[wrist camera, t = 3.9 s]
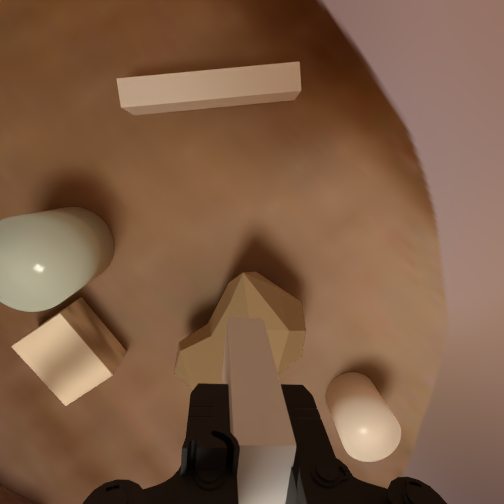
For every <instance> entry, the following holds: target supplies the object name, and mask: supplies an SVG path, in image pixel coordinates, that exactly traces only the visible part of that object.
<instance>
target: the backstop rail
mask: <svg viewBox="0 0 504 504" xmlns="http://www.w3.org/2000/svg"><path fill="white" fill-rule="evenodd" d="M116 79H117V85H118V92H119V98H120V104H121V108H122V109H124V110H126V111H127V112H129V113H131V114H132V115H144V114H154V113H165V112H175V111H186V110H196V109H207V108H217V107H228V106H238V105H249V104H260V103H270V102H281V101H291V100H295V99H296V97H297V96H298V95H299V93H300V92H301V76H300V61H299V62H288V63H278V64H267V65H256V66H245V67H235V68H224V69H213V70H202V71H192V72H181V73H170V74H159V75H149V76H138V77H127V78H116Z"/></svg>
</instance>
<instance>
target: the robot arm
mask: <svg viewBox="0 0 504 504" xmlns="http://www.w3.org/2000/svg"><path fill="white" fill-rule="evenodd" d="M222 383H223V384H207V383H198V384H197V386H196V387H195V388H194V390H193V391H192V392H191V395H190V404H189V414H188V423H187V432H186V439H185V441H184V444H183V447H182V459H181V466H180V468H179V470H178V471H177V472H176V473H175V474H174V476H173V477H171V478H170V479H168V480H167V481H165V482H163V483H161V484H159V485H156V486H153V487H150V488H147V489H142V488H141V487H140V486H139V484H137V483H135V482H132V481H130V480H114V481H111V482H107V483H105V484H103V485H101V486H100V487H98V488H97V489H95V490H94V491H93V492H92V493H91V494H90V495H89V496H88V497H87V499H86V500H85V501H84V502H83V504H447V503H446V502H445V501H444V500H443V499H442V497H441V496H440V495H439V494H438V493H436V492H435V491H434V490H433V489H432V488H431V487H430V486H428V485H427V484H425V483H423V482H421V481H420V480H417V479H413V478H410V477H398V478H396V479H394V480H393V481H391V483H390V485H389V487H388V489H386V488H383V487H379V486H376V485H372V484H369V483H366V482H363V481H361V480H358V479H357V478H355V477H353V476H352V474H351V472H350V471H349V469H348V467H347V466H346V465H345V464H343V463H342V462H341V461H340V460H339V459H337V458H336V457H335V454H334V452H333V449H332V446H331V444H330V441H329V438H328V436H327V433H326V430H325V428H324V425H323V422H322V420H321V419H320V414H319V412H318V409H317V407H316V404H315V401H314V399H313V396H312V394H311V393H310V392H309V391H308V390H307V389H306V388H305V387H304V386H303V385H286V384H280V380H279V377H278V373H277V369H276V365H275V361H274V357H273V354H272V350H271V346H270V342H269V338H268V334H267V331H266V327H265V323H264V319H261V318H240V317H227V326H226V338H225V349H224V361H223V372H222Z"/></svg>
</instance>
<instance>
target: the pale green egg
mask: <svg viewBox="0 0 504 504" xmlns="http://www.w3.org/2000/svg"><path fill="white" fill-rule="evenodd" d="M113 255H114V240H113V236H112V233H111V231H110V229H109V227H108V226H107V224H106V223H105V222H104V221H103V220H102V219H101V218H100V217H99V216H98V215H96V214H95V213H93V212H91V211H89V210H87V209H84V208H80V207H65V208H59V209H53V210H48V211H42V212H36V213H31V214H25V215H19V216H14V217H8V218H5V219H2V220H0V302H2V303H3V304H5V305H7V306H9V307H11V308H14V309H17V310H21V311H29V312H37V311H44V310H47V309H50V308H52V307H55V306H56V305H58V304H60V303H61V302H63V301H64V300H65V299H67V298H68V297H70V296H71V295H72V294H74V293H75V292H77V291H78V290H79V289H81V288H82V287H84V286H85V285H86V284H88V283H89V282H91V281H92V280H93V279H95V278H96V277H98V276H99V275H100V274H102V273H103V272H104V271H105V270H106V269H107V268H108V266H109V265H110V263H111V261H112V258H113Z"/></svg>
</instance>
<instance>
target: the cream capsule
mask: <svg viewBox="0 0 504 504" xmlns="http://www.w3.org/2000/svg"><path fill="white" fill-rule="evenodd" d="M325 398H326V403H327V405H328V408H329V410H330V413H331V416H332V418H333V421H334V423H335V426H336V428H337V431H338V433H339V436H340V438H341V441H342V444H343V446H344V448H345V450H346V452H347V453H348V454H349V455H350V456H351V457H353V458H355V459H357V460H360V461H364V462H373V461H378V460H381V459H383V458H385V457H387V456H388V455H390V454H391V453H392V452H393V451H394V450H395V449H396V447H397V446H398V444H399V442H400V438H401V428H400V425H399V423H398V421H397V420H396V418H395V416H394V415H393V413H392V412H391V410H390V409H389V407H388V406H387V404H386V403H385V401H384V400H383V398H382V397H381V395H380V394H379V392H378V390H377V389H376V387H375V386H374V384H373V383H372V381H371V380H370V379H369V378H368V377H367V376H365V375H363V374H361V373H357V372H347V373H343V374H341V375H339V376H337V377H336V378H334V379H333V380H332V381H331V382H330V384H329V385H328V387H327V390H326V395H325Z"/></svg>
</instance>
